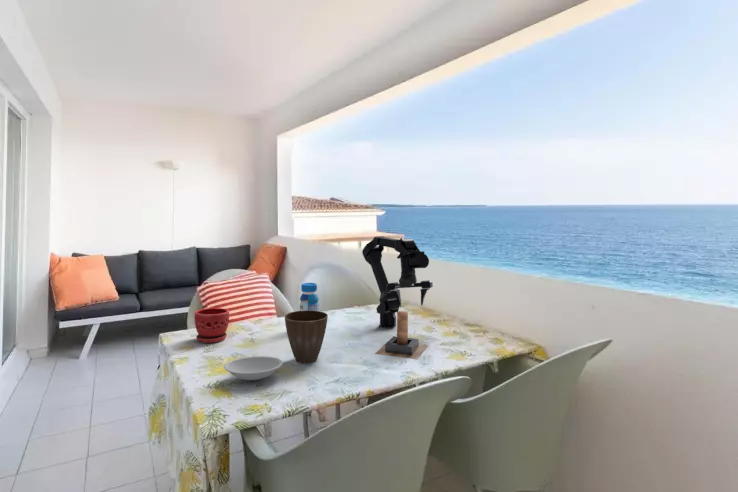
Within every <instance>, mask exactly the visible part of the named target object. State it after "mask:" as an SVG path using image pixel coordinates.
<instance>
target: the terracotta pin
mask: <svg viewBox="0 0 738 492" xmlns="http://www.w3.org/2000/svg"><path fill="white" fill-rule="evenodd" d="M408 335H409V312H408V311H407V310H398V312H396V337H397V344H405V345H408V338H409V336H408Z"/></svg>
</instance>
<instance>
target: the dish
mask: <svg viewBox="0 0 738 492" xmlns="http://www.w3.org/2000/svg"><path fill="white" fill-rule="evenodd" d="M282 366H283V361H282V360H281V359H279V358H277V357H274V356H273V357H272V356H267V355H264V356H262V355H260V356H259V355H258V356H257V355H256V356H246V357H240V358H236V359H232V360H231V361H227V362H226V363H225V364H224V366H223V368H224V370H225V371H227V372H229V374H231V375H232V376H233V377H235V378H237V379H240V380H245V381H252V380H255V381H257V380H261V379H265V378H268V377H269V376H271V375H273V374H274V373H275V372H276V371H277V370H278V369H279V368H281V367H282Z"/></svg>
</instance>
